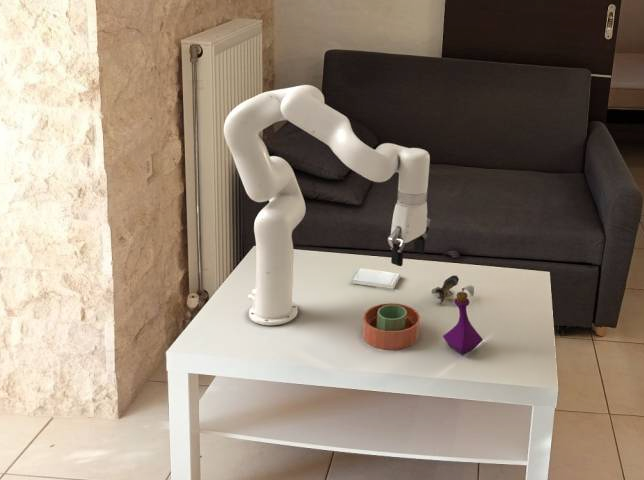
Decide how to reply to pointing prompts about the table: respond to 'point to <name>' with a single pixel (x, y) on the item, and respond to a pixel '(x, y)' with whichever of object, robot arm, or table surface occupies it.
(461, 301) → the perfume bottle
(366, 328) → the terracotta bowl
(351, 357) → the table surface
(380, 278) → the hard drive
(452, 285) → the eagle figurine
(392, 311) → the green faceted cup
